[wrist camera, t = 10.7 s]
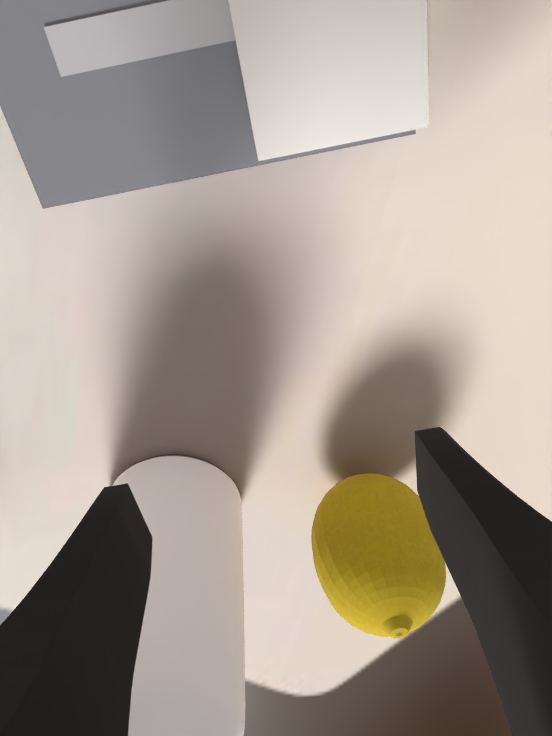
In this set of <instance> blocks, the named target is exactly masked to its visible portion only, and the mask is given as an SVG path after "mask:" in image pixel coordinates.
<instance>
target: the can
mask: <svg viewBox="0 0 552 736" xmlns="http://www.w3.org/2000/svg"><path fill="white" fill-rule="evenodd" d="M126 483H128V485H129V487H130V489H131V491H132V493H133V496H134V498H135V500H136V502H137V504H138V507H139V509H140V511H141V513H142V515H143V518H144V520H145V522H146V524H147V526H148V529H149V531H150V533H151V535H152V537H153V538H152V563H151V577H150V584H149V590H148V595H147V601H146V607H145V613H144V618H143V624H142V629H141V635H140V640H139V646H138V651H137V657H136V662H135V668H134V675H133V683H132V691H131V704H130V716H129V728H128V736H243V734H244V726H245V653H244V590H243V540H242V507H241V498H240V494H239V491H238V489H237V487H236V485H235V484H234V482H233V481H232V480H231V479H230V478H229V477H228V476H227V475H226V474H225V473H224V472H223V471H221V470H220V469H218V468H217V467H215V466H213V465H212V464H210V463H208V462H206V461H203V460H200V459H197V458H193V457H189V456H181V455H167V456H159V457H155V458H151V459H148V460H145V461H142V462H140V463H137V464H135V465H133V466H131V467H130V468H128V469H127V470H125V471H124V472H123V473H122V474H121V475H120V476H119V477H118V478H117V479H116V480H115V482H114V483H113V485H112V486H115V485H121V484H126Z"/></svg>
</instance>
